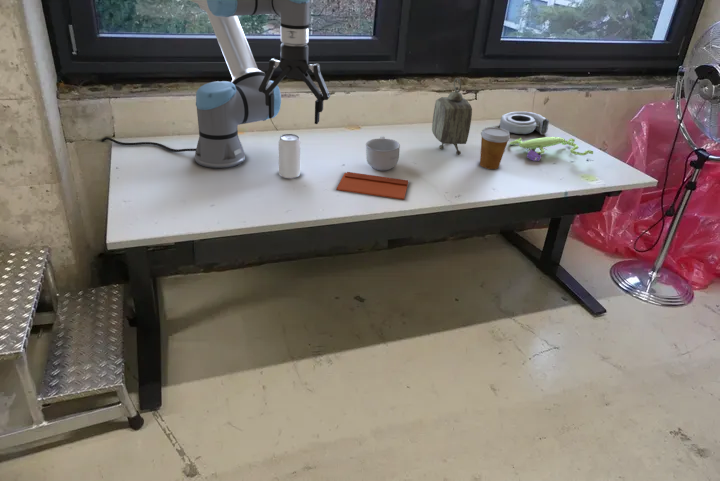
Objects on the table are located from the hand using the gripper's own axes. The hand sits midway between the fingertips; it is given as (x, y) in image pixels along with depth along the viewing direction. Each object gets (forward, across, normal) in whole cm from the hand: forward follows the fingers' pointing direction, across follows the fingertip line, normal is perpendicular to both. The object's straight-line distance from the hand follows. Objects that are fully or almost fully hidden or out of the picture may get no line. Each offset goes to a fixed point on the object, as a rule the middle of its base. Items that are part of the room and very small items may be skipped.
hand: (294, 119), depth 156 cm
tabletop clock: (+17, +46, +37) cm, 61 cm away
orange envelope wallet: (+17, +25, -1) cm, 30 cm away
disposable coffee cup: (+17, +60, +27) cm, 68 cm away
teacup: (+17, +25, +16) cm, 34 cm away
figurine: (+17, +83, +46) cm, 96 cm away
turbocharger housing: (+17, +74, +70) cm, 103 cm away
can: (+17, -1, -1) cm, 17 cm away
